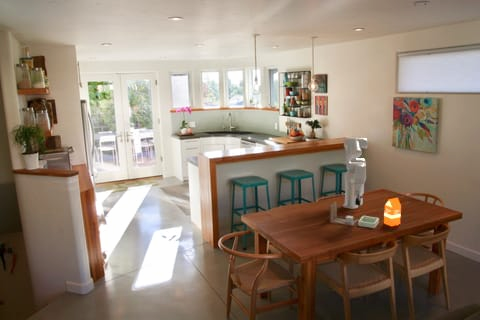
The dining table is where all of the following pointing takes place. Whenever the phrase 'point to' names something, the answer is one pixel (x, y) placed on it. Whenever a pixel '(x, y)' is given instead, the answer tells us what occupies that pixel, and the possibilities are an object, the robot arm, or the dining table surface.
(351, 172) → the robot arm
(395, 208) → the orange juice
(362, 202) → the stone cube
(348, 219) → the stone cube
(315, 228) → the dining table surface
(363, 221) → the sage bin
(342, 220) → the brown hollow box
